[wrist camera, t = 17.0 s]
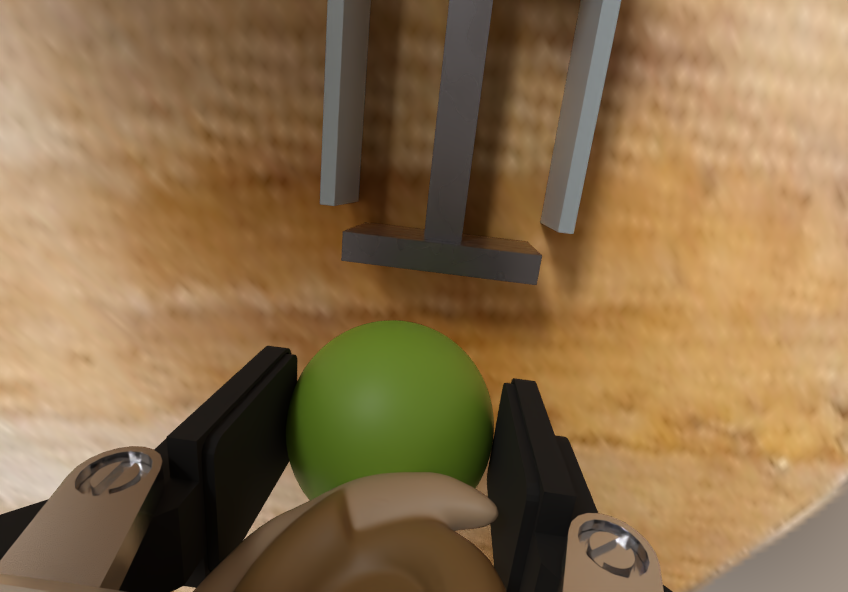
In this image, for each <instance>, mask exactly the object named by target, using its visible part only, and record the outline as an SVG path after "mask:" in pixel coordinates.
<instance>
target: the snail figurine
mask: <svg viewBox="0 0 848 592" xmlns="http://www.w3.org/2000/svg"><path fill="white" fill-rule="evenodd" d="M493 435H494V418H493V409H492V404H491V399H490V396H489V392H488V389H487V387H486V384H485V382H484V380H483V377H482V375H481V374H480V372H479V370H478V368H477V367H476V365H475V364H474V363H473V361H472V360H471V359H470V357H469V356H468V355H467V354H466V353H465V352H464V351H463V350H462V349H461V348H460V347H459V346H458V345H457V344H456V343H455V342H453V341H452V340H451V339H449V338H448V337H446V336H445V335H443V334H441V333H440V332H438V331H436V330H434V329H431V328H429V327H426V326H424V325H420V324H417V323H413V322H407V321H396V320H388V321H377V322H372V323H367V324H364V325H361V326H358V327H355V328H353V329H350V330H348V331H346V332H344V333H342V334H341V335H339V336H337V337H336V338H334V339H333V340H331V341H330V342H329V343H328V344H326V345H325V346H324V347H323V348H322V349H321V350H320V351H319V352H318V353H317V354H316V355H315V356H314V357H313V358H312V359H311V361H310V362H309V363H308V364H307V366H306V367H305V369H304V370H303V372H302V374H301V375H300V377H299V379H298V381H297V383H296V386H295V388H294V391H293V394H292V397H291V401H290V405H289V409H288V415H287V422H286V445H287V451H288V457H289V460H290V464H291V467H292V470H293V473H294V475H295V477H296V479H297V481H298V483H299V485H300V487H301V489H302V490H303V492H304V493H305V495H306V496H307V497H308V499H309V500H310V501H308V502H306V503H304V504H302V505H300V506H298V507H296V508H294V509H291V510H289V511H287V512H285V513H283V514H281V515H279V516H277V517H275V518H273V519H272V520H270V521H268V522H267V523H265V524H264V525H262V526H261V527H260V528H258V529H257V530H255V531H254V532H253V533H252V534H250V535H249V536H248V537H247V538H246V539H244V540H243V541H242V542H241V543H240V544H239V545H238V546H237V547H236V548H235V549H234V550H233V551H232V552H231V553H230V554H229V555H228V556H227V557H226V558H225V559H224V560H223V561H222V562H221V563H220V564H219V565H218V566H217V567H216V568H215V569H214V570H213V571H212V572H211V573H210V574H209V575H208V576H207V577H206V578H205V579H204V580H203V581H202V582H201V583H200V584H199V586H198V587H197V588H196V589H195V590H194V591H193V592H507V591H506V589H505V586H504V584H503V582H502V581H501V579H500V577H499V575H498V573H497V571H496V570H495V568H494V566H493V565H492V563H491V562H490V560H489V559H488V558H487V557H486V556H485V555H484V554H483V553H482V552H481V551H480V550H479V549H478V548H477V547H476V546H475V545H474V544H473V543H471V542H470V541H469V540H467V539H466V538H464V537H463V536H461V535H460V534H458V533H456V532H455V531H457V530H464V529H474V528H480V527H484V526H487V525H489V524H491V523H493V522H494V521H495V520H496V519H497V517H498V509H497V506H496V505H495V504H494V502H493V501H492V500H490V499H489V498H488V497H487V496H485V495H484V494H483V493H481V492H480V491H478V490H476V489H475V488H476V487H477V485H478V484H479V482H480V480H481V478H482V476H483V474H484V472H485V469H486V467H487V464H488V461H489V458H490V454H491V449H492V444H493Z"/></svg>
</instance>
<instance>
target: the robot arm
mask: <svg viewBox="0 0 848 592" xmlns="http://www.w3.org/2000/svg"><path fill="white" fill-rule="evenodd" d="M296 383H297V356H296V355H292V354H291V351H290V349H288V348H281V347H273V346H266V347H265V348H264V349H263V350H262V351H260V352H259V353H258V354H257V355H256V356H255V357H254V358H253V359H252V360H251V361H249V362H248V363H247V364H246V365H245V366H244V367H243V368H242V369H241V370H240V371H238V372H237V373H236V374H235V375H234V376H233V377H232V378H231V379H230V380H229V381H227V382H226V383H225V384H224V385H223V386H222V387H221V388H220V389H219V390H218V391H217V392H215V393H214V394H213V395H212V396H211V397H210V398H209V399H208V400H207V401H206V402H204V403H203V404H202V405H201V406H200V407H199V408H198V409H197V410H196V411H195V412H193V413H192V414H191V415H190V416H189V417H188V418H187V419H186V420H185V421H184V422H182V423H181V424H180V425H179V426H178V427H177V428H176V429H175V430H174V431H173V432H172V433H170V434H169V435H168V436H167V438H166V439H165V440H164V441H163V442H162V443H161V444H160V445H159V446H158V447H157V448H155V449H150V448H147V447H139V446H130V447H122V448H117V449H113V450H110V451H106V452H103V453H101V454H98V455H96V456H94V457H91V458H89V459H88V460H86V461H85V462H83V463H81V464H80V465H78V466H77V467H76V468H75V469H74V470H73V471H72V472H71V473H70V474H69V475H68V476H67V477H66V478H65V479H64V481H63V482H62V483H61V485H60V486H59V487H58V488H57V490H56V491H55V492H54V493H53V495H52V496H51V497H50V498H49V499H48V500H45V501H42V502H39V503H35V504H32V505H29V506H26V507H23V508H20V509H17V510H14V511H11V512H7V513H4V514H1V515H0V592H174V590H176V589H178V588H180V587H182V586H188V587H195V588H197V587H198V586H199V584H200V583H201V582H202V581H203V580H204V579H205V578H206V577H207V576H208V575H209V574H210V573H211V572H212V571H213V570H214V569H215V568H216V567H217V566H218V565H219V564H220V563H221V562H222V561H223V560H224V559H225V558H226V557H227V556H228V555H229V554H230V553H231V552H232V551H233V550H234V549H235V548H236V547H237V546H238V545H239V544H240V543H241V542H242V541H243V540H244V538H245V536H246V535H247V533H248V531H249V529H250V528H251V526H252V524H253V523H254V521H255V519H256V517H257V516H258V514H259V512H260V511H261V509H262V507H263V505H264V504H265V502H266V500H267V499H268V497H269V495H270V493H271V492H272V490H273V488H274V487H275V485H276V483H277V481H278V480H279V478H280V476H281V475H282V473H283V471H284V469H285V468H286V466H287V464H288V463H289V461H290V460H289V457H288V451H287V445H286V422H287V415H288V409H289V405H290V401H291V397H292V394H293V391H294V388H295V386H296ZM487 490H488V498H489V499H490V500H492V501H493V502H494V504H495V505H496V506H497V509H498V517H497V519H496V520H495V521H494V522H493V523H491V536H492V547H493V559H494V568H495V570H496V571H497V573H498V575H499V577H500V579H501V581H502V582H503V584H504V586H505V589H506V591H507V592H672V591H671V590H670V589H668V588H667V587H666V586H664V585H663V583H662V577H661V570H660V564H659V561H658V558H657V555H656V553H655V551H654V550H653V548H652V547H651V545H650V544H649V542H648V541H647V540H646V539H645V538H644V537H643V536H642V535H641V534H640V533H639V532H638V531H636V530H635V529H634V528H632V527H631V526H629V525H628V524H626V523H625V522H623V521H620V520H618V519H616V518H614V517H612V516H608V515H604V514H600V513H598V511H597V509H596V506H595V504H594V501H593V499H592V496H591V494H590V491H589V489H588V487H587V484H586V482H585V479H584V477H583V474H582V472H581V469H580V467H579V464H578V462H577V459H576V457H575V454H574V452H573V449H572V447H571V444H570V442H569V440H568V439H567V438H566V437H563V436H555V434H554V431H553V429H552V426H551V423H550V420H549V418H548V415H547V412H546V409H545V406H544V404H543V401H542V398H541V395H540V392H539V390H538V387H537V384H536V382H535V381H530V380H522V379H515V378H513V379H512V382H511V384H510V383H504V385H503V389H502V394H501V400H500V405H499V411H498V417H497V422H496V428H495V433H494V439H493V444H492V450H491V455H490V461H489V466H488V473H487Z"/></svg>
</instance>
